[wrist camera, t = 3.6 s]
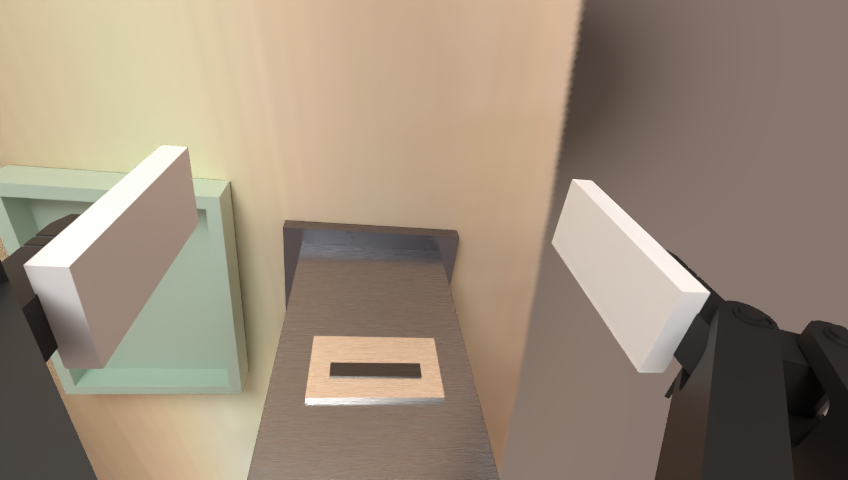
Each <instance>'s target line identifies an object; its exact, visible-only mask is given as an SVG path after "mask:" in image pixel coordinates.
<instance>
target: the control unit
mask: <svg viewBox="0 0 848 480" xmlns="http://www.w3.org/2000/svg"><path fill="white" fill-rule="evenodd" d="M283 237H284V265H285V294H286V314H285V319H284V323H283V327H282V332H281V336H280V340H279V345H278V349H277V353H276V358H275V362H274V366H273V370H272V375H271V379H270V383H269V388H268V392H267V396H266V401H265V405H264V409H263V413H262V418H261V422H260V426H259V431H258V435H257V439H256V444H255V448H254V452H253V457H252V461H251V465H250V469H249V474H248V478H247V480H499V476H498V472H497V468H496V464H495V460H494V457H493V453H492V449H491V445H490V441H489V437H488V434H487V430H486V426H485V422H484V418H483V414H482V411H481V407H480V403H479V399H478V395H477V391H476V387H475V384H474V380H473V376H472V372H471V368H470V364H469V361H468V357H467V353H466V349H465V345H464V341H463V337H462V334H461V330H460V326H459V322H458V318H457V314H456V311H455V307H454V303H453V299H452V295H451V291H450V287H449V285H450V280H451V275H452V270H453V265H454V260H455V255H456V250H457V245H458V240H459V236H458V233H457V231H456V230H439V229H422V228H406V227H389V226H372V225H356V224H339V223H322V222H306V221H289V220H285V223H284V226H283Z"/></svg>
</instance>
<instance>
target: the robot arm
mask: <svg viewBox="0 0 848 480" xmlns="http://www.w3.org/2000/svg"><path fill="white" fill-rule="evenodd" d="M198 223H199V221H198V214H197V207H196V200H195V193H194V187H193V180H192V173H191V166H190V159H189V152H188V147H180V146H168V145H161V146H160V147H159V148H158V149H156V150H155V151H154V152H153V153H152V154H151V155H150V156H148V157H147V158H146V159H145V160H144V161H143V162H141V163H140V164H139V165H138V166H137V167H136V168H135V169H133V170H132V171H131V172H130V173H129V174H128V175H127V176H125V177H124V178H123V179H122V180H121V181H120V182H118V183H117V184H116V185H115V186H114V187H113V188H112V189H110V190H109V191H108V192H107V193H106V194H105V195H103V196H102V197H101V198H100V199H99V200H98V201H97V202H95V203H94V204H93V205H92V206H91V207H90V208H89V209H87V210H86V211H85V212H84V213H83V214H70V215H67V216H65V217H63V218H60V219H58V220H56V221H54V222H51V223H49V224H48V225H47V226H46V227H45V228H43V229H42V230H41V231H40V232H38V233H37V234H36V237H32V238H31V239H30V240H28V241H27V242H26V243H25V244H24V247H20V248H19V249H17V250H16V251H15V252H14V253H12V254H11V255H10V256H9V257H7V258H6V259H5V260H4V261H3V262H1V260H0V480H97V478H96V475H95V473H94V471H93V469H92V466H91V464H90V462H89V459H88V457H87V455H86V453H85V450H84V448H83V446H82V444H81V441H80V439H79V437H78V435H77V432H76V430H75V428H74V426H73V423H72V421H71V419H70V417H69V414H68V412H67V410H66V408H65V405H64V403H63V401H62V399H61V396H60V394H59V392H58V390H57V387H56V385H55V383H54V381H53V378H52V376H51V374H50V372H49V369H48V367H47V365H46V362H47V361H48V360H49V358H50V357H51V356H52V355H53V353H54V352H55V351H56V350H57V351H58V353H59V356H60V358H61V361H62V363H63V366H64V368H65V369H103V368H104V367H105V365H106V364H107V362H108V361H109V359H110V358H111V356H112V355H113V353H114V352H115V350H116V348H117V347H118V345H119V344H120V342H121V341H122V339H123V338H124V336H125V335H126V333H127V332H128V330H129V329H130V327H131V326H132V324H133V323H134V321H135V319H136V318H137V316H138V315H139V313H140V312H141V310H142V309H143V307H144V306H145V304H146V303H147V301H148V300H149V298H150V297H151V295H152V294H153V292H154V290H155V289H156V287H157V286H158V284H159V283H160V281H161V280H162V278H163V277H164V275H165V274H166V272H167V271H168V269H169V268H170V266H171V264H172V263H173V261H174V260H175V258H176V257H177V255H178V254H179V252H180V251H181V249H182V248H183V246H184V245H185V243H186V242H187V240H188V239H189V237H190V235H191V234H192V232H193V231H194V229H195V228H196V226H197V225H198ZM552 244H553V246H554V247H555V249H556V250H557V252H558V253H559V255H560V256H561V258H562V259H563V261H564V262H565V264H566V265H567V267H568V268H569V269H570V271H571V273H572V274H573V276H574V277H575V278H576V280H577V281H578V283H579V284H580V286H581V287H582V289H583V290H584V292H585V293H586V295H587V296H588V298H589V299H590V301H591V302H592V304H593V305H594V307H595V308H596V310H597V311H598V313H599V314H600V316H601V317H602V319H603V320H604V322H605V323H606V324H607V326H608V328H609V329H610V331H611V332H612V334H613V335H614V337H615V338H616V340H617V341H618V342H619V344H620V346H621V347H622V349H623V350H624V351H625V353H626V354H627V356H628V357H629V359H630V360H631V362H632V363H633V365H634V366H635V368H636V369H637V371H638V372H640V373H664V372H665V370H666V368H667V367H668V365H669V363H670V362H671V360H672V358H673V357H674V356H675V358H676V359H677V360H678V362H679V363H680V364H681V365H682V368H681V370H680V372H679V373H678V375H677V377H676V378H675V380H674V382H673V383H672V385H671V387H670V388H669V390H668V391H667V393H666V395H665V397H667V398H670V396H671V395H672V394H673V395H672V399H671V404H670V409H669V414H668V418H667V423H666V428H665V433H664V438H663V442H662V448H661V452H660V457H659V462H658V467H657V471H656V476H655V480H848V330H847V329H846V328H845V327H842V326H840V325H835V324H832V323H829V322H824V321H819V320H818V321H811V322H810V323H809V324H808V325H807V327H806V328H805V329H804V331H803V332H802V333H801V334H796V333H793V332H788V331H784V330H780V329H779V328H778V326H777V323H776V322H775V321H774V320H773V319H772V318H770V317H769V316H768V315H766V314H765V313H763V312H762V311H760V310H759V309H756V308H754V307H752V306H750V305H747V304H744V303H741V302H738V301H725V300H724V299H722V298H721V297H720V296H719V295H718V294H717V293H716V292H715V291H714V290H713V289H712V288H711V287H709V286H708V285H707V284H706V283H705V282H704V281H703V280H702V279H701V278H700V277H697V274H695V273H694V272H693V271H692V270H691V269H690V268H688V266H687V265H686V264H685V263H684V262H683V261H682V260H681V259H679V258H678V257H677V256H676V255H674V254H673V253H671V252H669V251H668V250H666V249H664V248H662V247H661V246H660V245H659V244H658V243H657V242H656V241H655V240H654V239H653V238H652V237H651V236H650V235H649V234H648V233H647V232H645V230H643V229H642V228H641V227H640V226H639V225H638V224H637V223H636V222H635V221H634V220H633V219H632V218H631V217H630V216H629V215H628V214H627V213H626V212H624V211H623V210H622V209H621V208H620V207H619V206H618V205H617V204H616V203H615V202H614V201H613V200H612V199H611V198H610V197H608V195H606V194H605V193H604V192H603V191H602V190H601V189H600V188H599V187H598V186H597V185H596V184H595V183H594V182H593V181H589V180H577V179H572V183H571V185H570V189H569V192H568V195H567V198H566V201H565V204H564V207H563V210H562V213H561V216H560V219H559V222H558V225H557V228H556V231H555V234H554V237H553V241H552ZM828 407H829V409H828V412H827V414H826V416H824V414H823V413H824V411H825V410H826V409H827V408H828Z"/></svg>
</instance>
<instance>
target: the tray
mask: <svg viewBox="0 0 848 480" xmlns="http://www.w3.org/2000/svg"><path fill="white" fill-rule="evenodd" d="M127 175H128V173H114V172H100V171H86V170H73V169H59V168H45V167H31V166H18V165H6V166H4V167H2V168H1V169H0V237H1V240H2V242H3V245H4V247H5V249H6V252H7V254H8V257H9V256H10V255H11V254H12V253H14V252H15V251H16V250H17V249H19V248H20V247H24V244H25V243H26V242H27V241H28V240H30V239H31V238H32V237H36V234H37V233H38V232H40V231H41V230H42V229H43V228H45V227H46V226H47V225H48V224H49V223H51V222H54V221H56V220H58V219H60V218H63V217H65V216H67V215H70V214H83V213H84V212H85V211H86V210H87V209H89V208H90V207H91V206H92V205H93V204H94V203H95V202H97V201H98V200H99V199H100V198H101V197H102V196H103V195H105V194H106V193H107V192H108V191H109V190H110V189H112V188H113V187H114V186H115V185H116V184H117V183H118V182H120V181H121V180H122V179H123V178H124V177H125V176H127ZM192 180H193V187H194V193H195V200H196V207H197V214H198V221H199V223H198V225H197V226H196V228H195V229H194V231H193V232H192V234H191V235H190V237H189V239H188V240H187V242H186V243H185V245H184V246H183V248H182V249H181V251H180V252H179V254H178V255H177V257H176V258H175V260H174V261H173V263H172V264H171V266H170V268H169V269H168V271H167V272H166V274H165V275H164V277H163V278H162V280H161V281H160V283H159V284H158V286H157V287H156V289H155V290H154V292H153V294H152V295H151V297H150V298H149V300H148V301H147V303H146V304H145V306H144V307H143V309H142V310H141V312H140V313H139V315H138V316H137V318H136V319H135V321H134V323H133V324H132V326H131V327H130V329H129V330H128V332H127V333H126V335H125V336H124V338H123V339H122V341H121V342H120V344H119V345H118V347H117V348H116V350H115V352H114V353H113V355H112V356H111V358H110V359H109V361H108V362H107V364H106V365H105V367H104V368H103V369H65V368H64V366H63V363H62V361H61V358H60V356H59V353H58V351H57V350H56V351H55V352H54V353H53V355H52V356H51V357H50V358H51V360H52V362H53V365H54V367H55V370H56V372H57V374H58V377H59V379H60V382H61V384H62V386H63V389H64V391H65V394H242V392H243V388H244V385H245V382H246V378H247V375H248V371H249V369H248V359H247V349H246V339H245V329H244V319H243V309H242V299H241V289H240V278H239V268H238V258H237V248H236V238H235V228H234V218H233V208H232V198H231V188H230V181H224V180H210V179H197V178H192Z"/></svg>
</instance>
